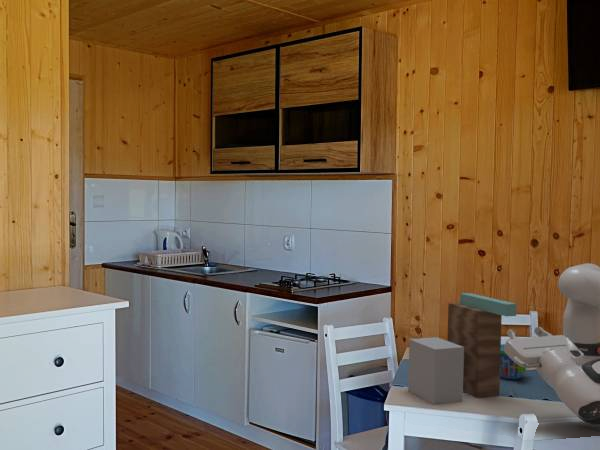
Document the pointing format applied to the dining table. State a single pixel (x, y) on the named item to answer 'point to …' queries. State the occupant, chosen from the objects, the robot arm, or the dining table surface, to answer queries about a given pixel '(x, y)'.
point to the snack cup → (509, 367)
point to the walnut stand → (477, 347)
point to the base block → (436, 370)
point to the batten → (488, 304)
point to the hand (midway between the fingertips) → (523, 329)
